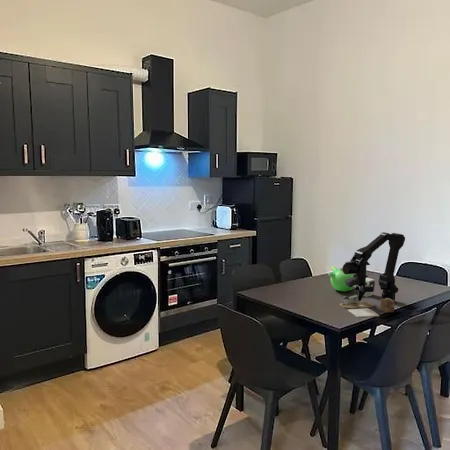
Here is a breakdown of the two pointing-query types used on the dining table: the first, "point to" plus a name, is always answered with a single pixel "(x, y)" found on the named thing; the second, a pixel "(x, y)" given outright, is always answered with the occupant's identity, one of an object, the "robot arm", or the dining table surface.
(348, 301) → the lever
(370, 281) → the security camera
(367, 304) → the plane block
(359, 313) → the trivet
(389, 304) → the cap block
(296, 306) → the dining table surface
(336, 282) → the toy bird
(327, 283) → the dining table surface
